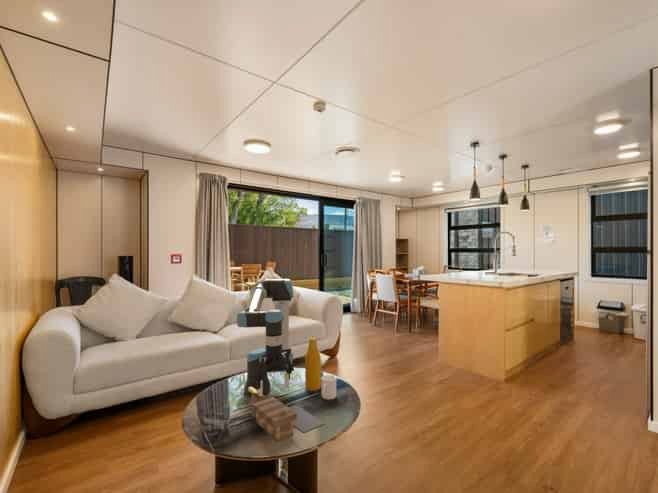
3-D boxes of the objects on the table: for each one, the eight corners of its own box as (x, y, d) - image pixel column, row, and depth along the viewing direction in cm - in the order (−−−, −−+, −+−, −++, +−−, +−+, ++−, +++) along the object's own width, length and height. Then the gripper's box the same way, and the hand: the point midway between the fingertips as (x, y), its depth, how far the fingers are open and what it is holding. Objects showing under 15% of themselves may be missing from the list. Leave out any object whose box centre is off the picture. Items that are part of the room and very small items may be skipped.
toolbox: (248, 416, 156) (248, 393, 156) (263, 410, 161) (263, 388, 161) (277, 441, 135) (277, 414, 135) (293, 434, 140) (293, 408, 140)
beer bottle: (302, 388, 188) (301, 339, 189) (312, 383, 196) (312, 335, 196) (314, 392, 183) (313, 341, 183) (324, 387, 190) (323, 338, 191)
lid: (252, 412, 150) (252, 403, 150) (273, 405, 157) (273, 397, 157) (274, 430, 134) (274, 421, 134) (296, 422, 141) (296, 412, 141)
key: (248, 390, 164) (248, 385, 164) (251, 389, 165) (251, 384, 165) (258, 397, 155) (258, 392, 155) (261, 396, 157) (261, 390, 157)
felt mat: (276, 412, 159) (276, 412, 159) (296, 405, 167) (296, 404, 167) (303, 433, 141) (303, 432, 141) (324, 423, 149) (324, 423, 149)
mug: (329, 404, 168) (329, 384, 168) (315, 401, 172) (315, 381, 172) (338, 394, 179) (338, 376, 179) (325, 392, 183) (325, 374, 183)
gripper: (252, 351, 135) (252, 402, 134) (301, 341, 151) (301, 386, 150) (244, 347, 141) (244, 396, 140) (292, 338, 157) (292, 381, 156)
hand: (273, 391), depth 145 cm, fingers open, 13 cm apart
